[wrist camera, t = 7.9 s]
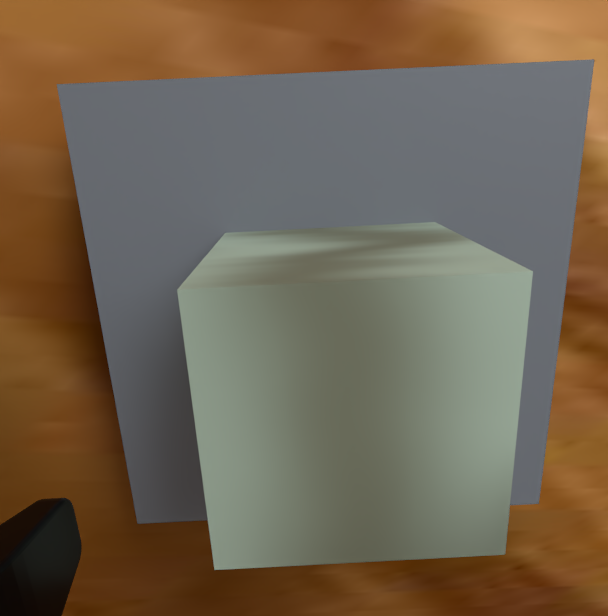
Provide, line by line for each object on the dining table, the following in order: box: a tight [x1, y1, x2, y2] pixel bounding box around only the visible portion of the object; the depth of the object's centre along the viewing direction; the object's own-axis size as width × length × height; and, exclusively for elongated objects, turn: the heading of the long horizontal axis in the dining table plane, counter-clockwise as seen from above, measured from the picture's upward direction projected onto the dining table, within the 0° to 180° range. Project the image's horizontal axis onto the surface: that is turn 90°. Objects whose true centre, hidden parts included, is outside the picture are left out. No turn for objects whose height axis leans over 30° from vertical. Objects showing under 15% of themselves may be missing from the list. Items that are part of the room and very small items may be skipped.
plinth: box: [57, 60, 594, 524], centre depth 17 cm, size 14×14×4 cm
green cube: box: [177, 222, 533, 570], centre depth 12 cm, size 6×6×6 cm
